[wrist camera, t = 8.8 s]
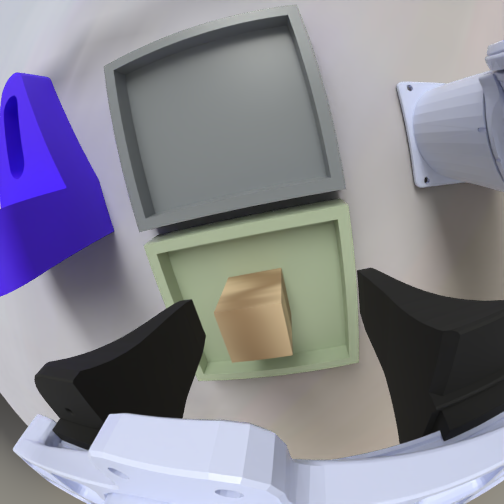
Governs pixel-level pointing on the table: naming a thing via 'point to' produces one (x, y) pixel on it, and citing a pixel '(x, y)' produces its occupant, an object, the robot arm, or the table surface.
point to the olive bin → (261, 259)
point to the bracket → (42, 184)
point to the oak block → (255, 316)
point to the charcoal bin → (223, 119)
